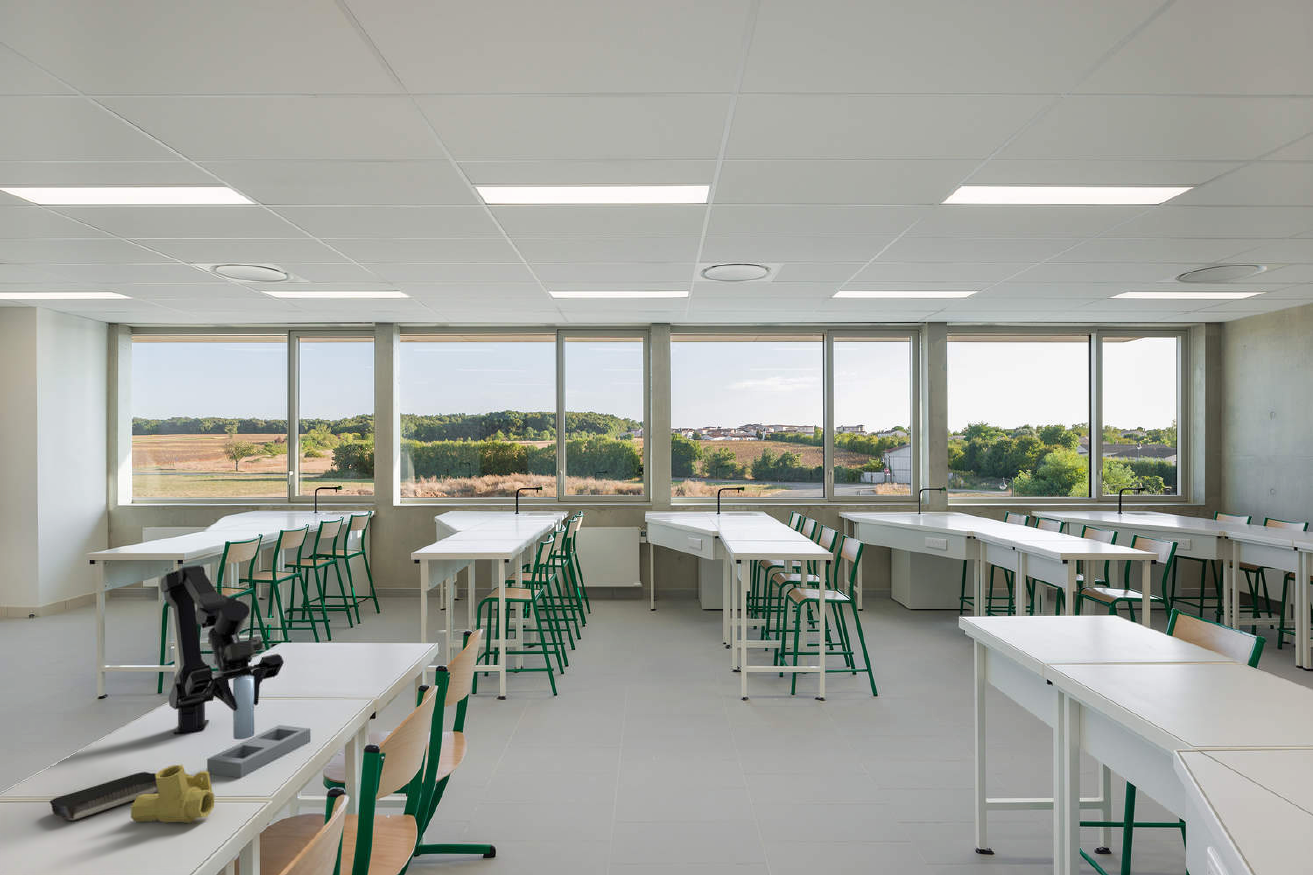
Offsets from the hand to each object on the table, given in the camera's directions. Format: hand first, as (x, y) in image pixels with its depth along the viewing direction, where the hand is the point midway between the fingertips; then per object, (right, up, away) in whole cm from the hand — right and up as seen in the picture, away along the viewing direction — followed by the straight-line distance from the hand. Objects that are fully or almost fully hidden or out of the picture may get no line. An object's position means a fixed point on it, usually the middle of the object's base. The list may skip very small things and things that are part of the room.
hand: (246, 706), depth 162 cm
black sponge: (-18, -14, -16) cm, 28 cm away
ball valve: (-1, -13, -21) cm, 25 cm away
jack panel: (+1, -13, +5) cm, 14 cm away
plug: (-1, -7, +1) cm, 7 cm away
